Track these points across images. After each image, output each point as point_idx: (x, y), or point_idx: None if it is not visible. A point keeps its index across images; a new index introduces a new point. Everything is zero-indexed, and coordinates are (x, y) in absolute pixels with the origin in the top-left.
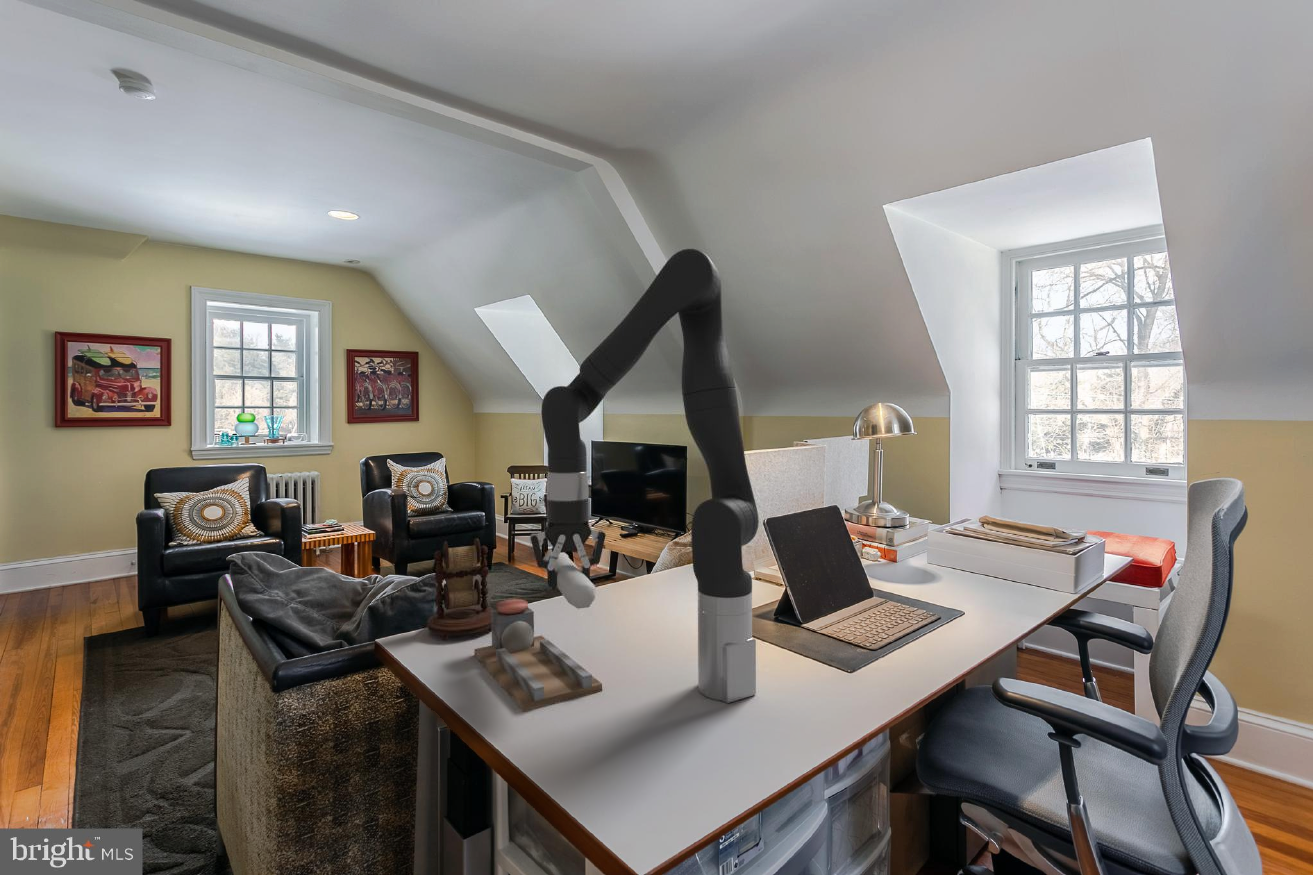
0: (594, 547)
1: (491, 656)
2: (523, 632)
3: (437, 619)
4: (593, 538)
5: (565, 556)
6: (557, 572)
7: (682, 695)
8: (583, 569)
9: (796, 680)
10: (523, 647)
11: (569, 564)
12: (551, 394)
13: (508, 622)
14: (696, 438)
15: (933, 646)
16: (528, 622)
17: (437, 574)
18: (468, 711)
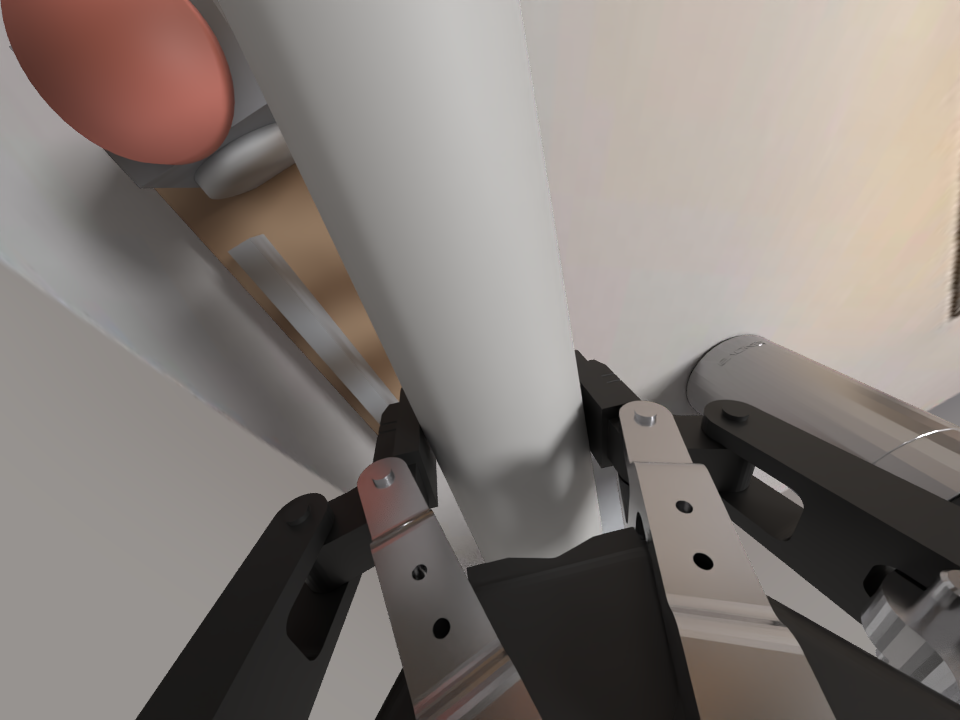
0: (812, 504)
1: (210, 212)
2: (275, 156)
3: None
4: (897, 667)
5: (472, 41)
6: (443, 459)
7: (655, 394)
8: (604, 463)
9: (852, 344)
10: (294, 161)
11: (526, 443)
12: None
13: (192, 165)
14: None
15: None
16: (273, 121)
17: None
18: (296, 448)
